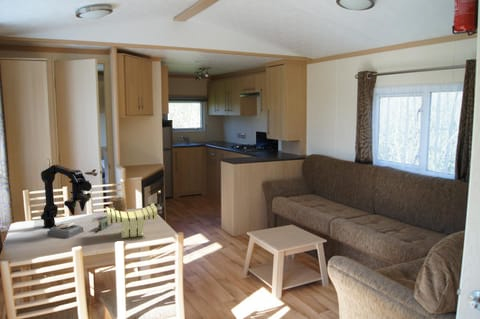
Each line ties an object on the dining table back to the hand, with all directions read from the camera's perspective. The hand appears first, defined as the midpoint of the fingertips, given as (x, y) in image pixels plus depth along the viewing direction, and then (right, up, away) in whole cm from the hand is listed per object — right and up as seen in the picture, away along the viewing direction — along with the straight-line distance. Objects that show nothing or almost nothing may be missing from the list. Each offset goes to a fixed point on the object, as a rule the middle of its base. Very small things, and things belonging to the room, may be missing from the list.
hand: (78, 213), depth 263 cm
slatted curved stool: (+37, -14, -4) cm, 39 cm away
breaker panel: (-7, -13, -2) cm, 15 cm away
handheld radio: (+14, -12, +12) cm, 22 cm away
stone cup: (+19, -8, +35) cm, 41 cm away
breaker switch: (-7, -8, -2) cm, 11 cm away
